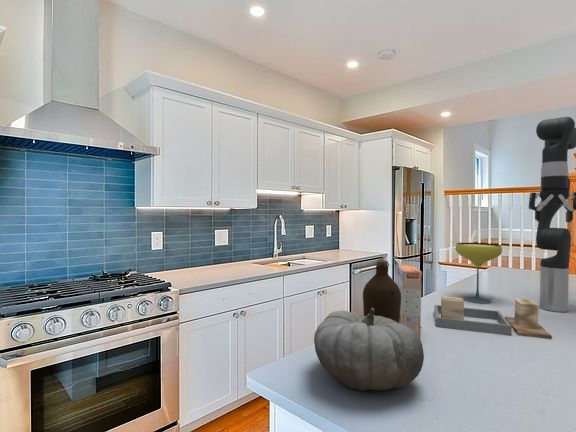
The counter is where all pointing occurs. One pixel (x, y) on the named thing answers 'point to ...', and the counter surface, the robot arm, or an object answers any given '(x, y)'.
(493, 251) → the cocktail glass
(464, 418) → the counter surface
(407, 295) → the cracker box
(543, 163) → the robot arm
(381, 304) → the olive oil
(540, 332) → the board
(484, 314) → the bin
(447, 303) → the plain box
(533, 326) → the tan box
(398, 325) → the gourd
